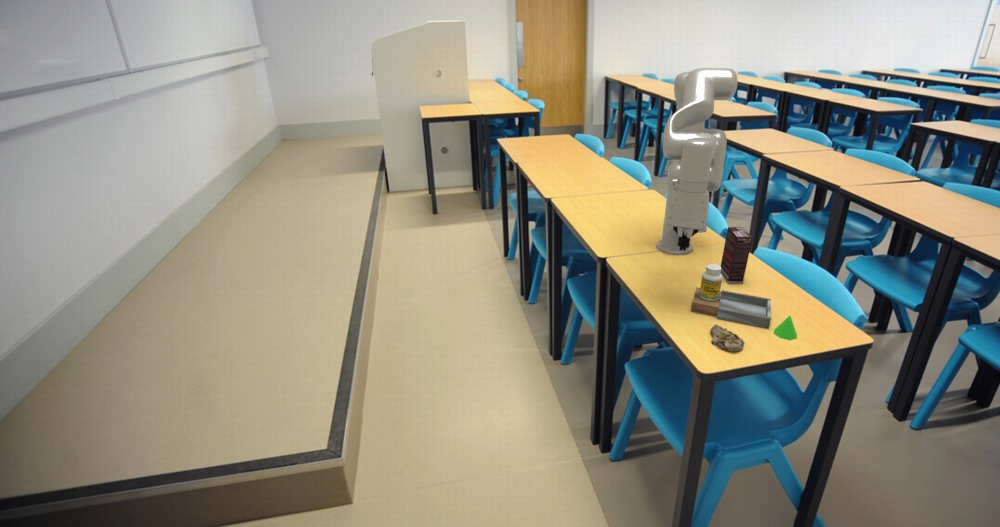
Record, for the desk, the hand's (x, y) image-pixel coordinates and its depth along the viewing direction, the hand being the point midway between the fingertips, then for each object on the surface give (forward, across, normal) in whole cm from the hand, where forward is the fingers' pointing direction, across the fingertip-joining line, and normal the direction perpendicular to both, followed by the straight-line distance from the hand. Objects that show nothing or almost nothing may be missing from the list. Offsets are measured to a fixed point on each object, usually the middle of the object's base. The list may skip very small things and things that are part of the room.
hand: (682, 249), depth 147 cm
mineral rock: (+18, +15, -16) cm, 28 cm away
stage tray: (+17, +14, +1) cm, 22 cm away
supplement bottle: (+14, +9, +1) cm, 17 cm away
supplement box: (+17, +14, +23) cm, 31 cm away
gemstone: (+17, +29, -6) cm, 34 cm away
